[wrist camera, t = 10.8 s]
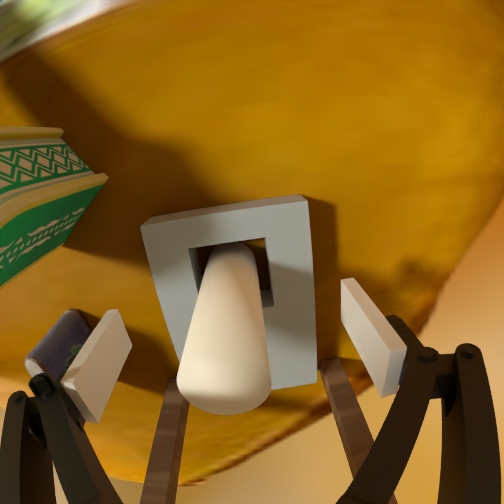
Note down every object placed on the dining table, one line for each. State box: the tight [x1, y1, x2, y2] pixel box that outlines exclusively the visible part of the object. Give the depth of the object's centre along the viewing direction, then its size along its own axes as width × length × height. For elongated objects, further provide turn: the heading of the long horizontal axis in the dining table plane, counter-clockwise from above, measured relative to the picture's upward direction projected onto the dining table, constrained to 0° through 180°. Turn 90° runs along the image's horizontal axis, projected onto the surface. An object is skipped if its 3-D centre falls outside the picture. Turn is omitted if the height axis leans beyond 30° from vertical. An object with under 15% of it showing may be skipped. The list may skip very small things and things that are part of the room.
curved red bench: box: [140, 358, 398, 504], centre depth 16 cm, size 7×18×25 cm, turn 98°
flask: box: [24, 309, 93, 427], centre depth 22 cm, size 9×3×11 cm, turn 10°
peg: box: [177, 242, 272, 415], centre depth 18 cm, size 4×4×14 cm
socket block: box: [140, 194, 317, 390], centre depth 24 cm, size 17×12×3 cm
